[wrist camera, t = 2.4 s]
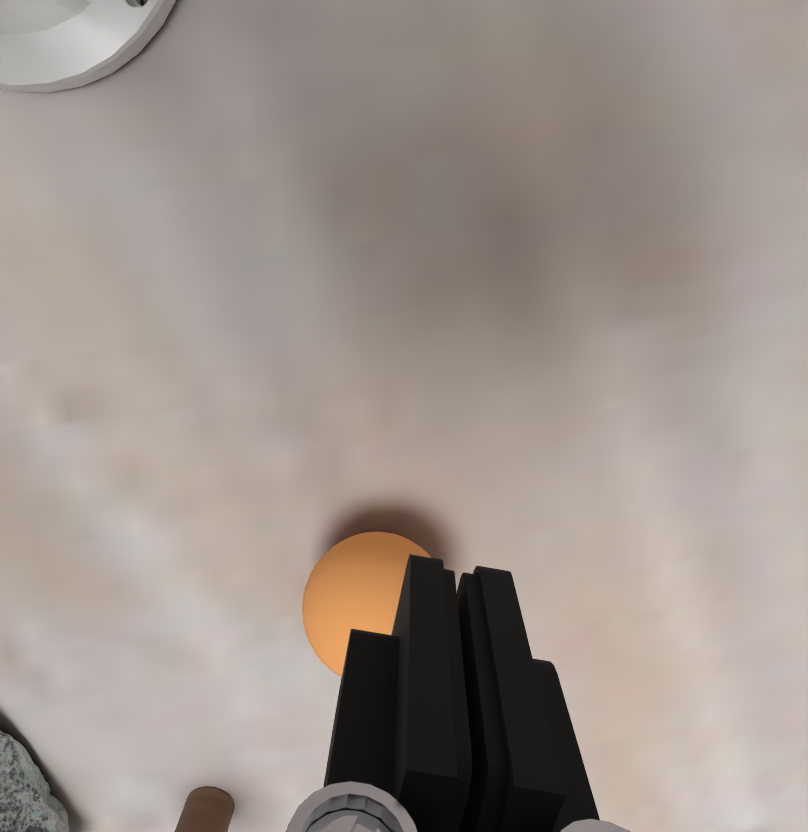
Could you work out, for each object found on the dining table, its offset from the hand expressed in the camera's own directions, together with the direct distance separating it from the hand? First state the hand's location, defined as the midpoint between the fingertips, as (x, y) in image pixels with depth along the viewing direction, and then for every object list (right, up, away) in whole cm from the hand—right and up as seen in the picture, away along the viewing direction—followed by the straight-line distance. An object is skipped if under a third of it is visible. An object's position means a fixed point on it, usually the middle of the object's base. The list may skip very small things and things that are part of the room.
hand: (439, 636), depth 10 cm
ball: (-2, -4, +15) cm, 16 cm away
